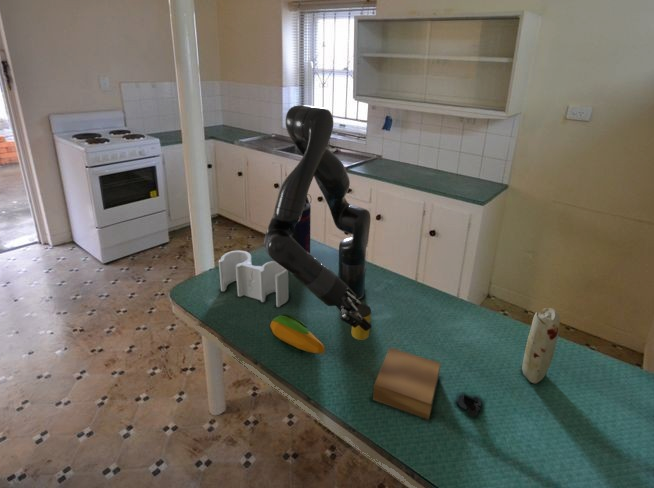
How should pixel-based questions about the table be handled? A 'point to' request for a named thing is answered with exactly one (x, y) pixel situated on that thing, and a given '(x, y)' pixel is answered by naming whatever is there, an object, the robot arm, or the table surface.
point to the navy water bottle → (303, 227)
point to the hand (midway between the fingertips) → (367, 321)
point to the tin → (358, 331)
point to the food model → (541, 344)
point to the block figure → (469, 404)
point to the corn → (295, 334)
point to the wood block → (407, 382)
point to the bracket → (253, 277)
